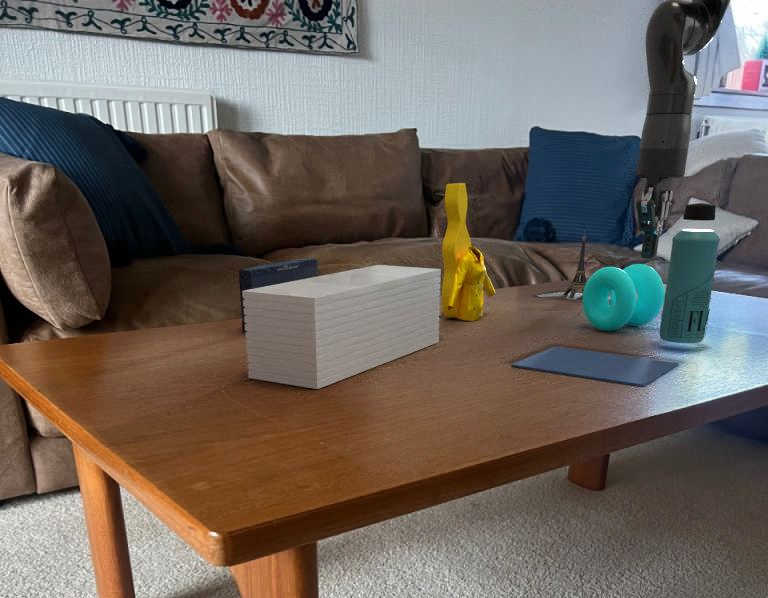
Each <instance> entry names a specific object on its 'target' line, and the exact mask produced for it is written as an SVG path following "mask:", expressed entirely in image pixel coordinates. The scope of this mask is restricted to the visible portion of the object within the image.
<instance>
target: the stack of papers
mask: <svg viewBox="0 0 768 598" xmlns="http://www.w3.org/2000/svg"><path fill="white" fill-rule="evenodd" d="M441 275H442V269H441V268H432V267H431V268H430V267H416V266H403V265H402V266H401V265H388V264H387V265H386V264H376V265H371V266H366V267H359V268H355V269H349V270H344V271H339V272H335V273H334V272H333V273H329V274H324V275H318V277H312V278H307V279H302V280H297V281H291V282H286V283H281V284H276V285H270V286H265V287H260V288H255V289H249V290H244V291H242V294H243V298H244V299H245V300H243V306H244V307H245V308H244V315H246V316H244V322H245V323H246V324H245V331H247V332H245V333H244V335H245V339H246V340H245V347H246V348H245V349H246V362H248V363H246V364H247V365H246V366H247V370H248V371H247V377H248V379H253V380H259V381H265V382H272V383H277V384H284V385H290V386H296V387H303V388H308V389H315V390H319V389H322V388H324V387H328V386H330V385H332V384H334V383H337V382H340V381H342V380H346V379H348V378H350V377H353V376H355V375H358V374H360V373H363V372H366V371H368V370H371V369H374V368H376V367H379V366H382V365H384V364H386V363H389V362H391V361H394V360H397V359H400V358H402V357H404V356H407V355H409V354H413V353H415V352H417V351H420V350H423V349H425V348H427V347H430V346H433V345H435V344H437V343H439V342H440V330H439V329H440V317H439V316H440V314H441V313H440V309H441V305H440V303H441Z"/></svg>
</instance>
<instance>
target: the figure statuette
mask: <svg viewBox="0 0 768 598" xmlns="http://www.w3.org/2000/svg"><path fill="white" fill-rule="evenodd" d="M466 186H467V185H466V183H465V182H457V183H456V182H455V183H447V184H446V185H445V193H444V209H445V214H446V219H447V225H446V230H445V235H444V237H443V241H442V248H441V254H442V262H443V279H442V286H441V306H442V314H443V317H444V318H446V319H447V318H450V319H454V318H455V319H457V320H462V321H468V322H474V321H477V320H479V319H480V318H481V317H482V316H483V315H484V302H485V301H484V300H485V295H484V294H485V293H486V295H487V298H491V297H493V296H494V295H496V293H497V292H496V290H495V288H494V285H493V283H492V281H491V278H490V277H489V276H488V273H487V268H486V266H485V256H484V255H483V253H482V252H481V251H480V250H479V249H478V248H477V247H476V246H472V240H471V236H470V234H469V231H468V228H467V223H466V219H467V212H468V192H467V187H466ZM484 291H485V293H484Z"/></svg>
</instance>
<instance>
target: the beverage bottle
mask: <svg viewBox="0 0 768 598" xmlns="http://www.w3.org/2000/svg"><path fill="white" fill-rule="evenodd" d="M716 206H717V205H716V204H712V203H704V202H695V203H688V204H686V205H685V209H684V213H683V217H682V220H683V221H684V220H685V221H701V222H702V221H715V220H716V209H717V207H716ZM671 241H672V243H671V249H670V250H671V251H670V259H669V266H668V271H667V280H666V285H665V286H664V297H663V298H664V302H663V304H662V310H661V315H660V319H659V320H660V321H659V322H660V325H659V338H660V340H662V341H665V342H670V343H677V344H698V343H702V342H703V341H704V339H705V337H706V336H707V335H706V330H707V329H708V327H707V325H708V324H709V315H710V311H711V308H710V304H711V302H712V301H711V300H712V291H713V286H714V282H715V274H716V272H717V261H718V260H717V259H718V258H717V257H718V253H719V252H718V251H719V246H720V245H719V244H720V242H721V238H720V236H719V235H718V233H716V231H714V230H713V229H702V228H701V229H700V228H683V229H681V230H680V231H678V232H677V233H676V234H675V235H674V236H672V239H671Z"/></svg>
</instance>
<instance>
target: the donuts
mask: <svg viewBox="0 0 768 598" xmlns="http://www.w3.org/2000/svg"><path fill="white" fill-rule="evenodd" d="M586 281H587V283H586V285H585V287H584V291H583V292H582V293H583V297H582V300H581V301H582V303H581V304H582V309H583V312H584V316H585V317H586V319H587V321H588V322H589V323H590V324H591V325H592V326H594V327H595V328H596V329H598V330H601V331H605V332H611V331H616V330H618V329H621V328H623V327H624V326H625V325H627V326H631V327H641V326H645V325H647V324H649V323H650V322H652V321H654V319H656V317H657V316H658V314H659V313H660V312H661V311H662V309H663V305H664V304H663V303H664V298H665V297H664V295H665V286H664V282H663V279H662V276H660V274H659V273H658V272H657V271H656V269H655V268H653V267H651V266H650V265H647V264H644V263H633V264H630V265H628V266H626V267H625V268H623V269H621V268H619V267H616V266H605V267H602V268H599V269H598V270H596V271H595V272H593V273H592V274H591V276H590V277H589V278H588V279H587V280H586ZM608 296H610V300H608ZM663 297H664V298H663ZM662 304H663V305H662Z"/></svg>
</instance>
